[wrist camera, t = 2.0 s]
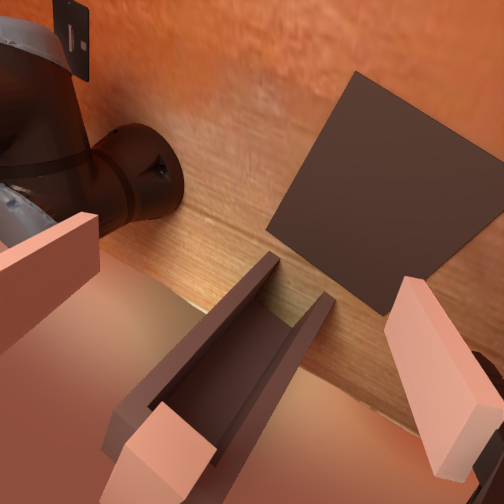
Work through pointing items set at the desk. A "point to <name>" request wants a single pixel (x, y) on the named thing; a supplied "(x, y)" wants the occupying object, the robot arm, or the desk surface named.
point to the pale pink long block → (158, 462)
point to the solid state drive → (73, 34)
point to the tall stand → (223, 380)
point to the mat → (386, 195)
